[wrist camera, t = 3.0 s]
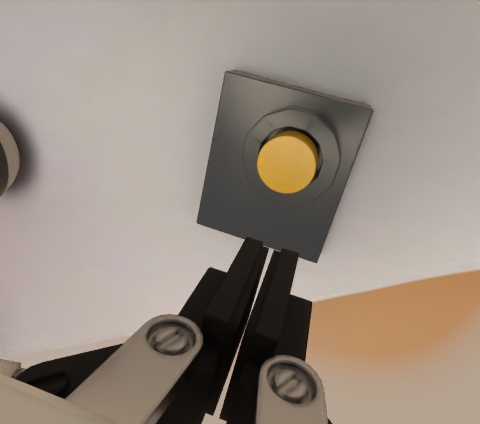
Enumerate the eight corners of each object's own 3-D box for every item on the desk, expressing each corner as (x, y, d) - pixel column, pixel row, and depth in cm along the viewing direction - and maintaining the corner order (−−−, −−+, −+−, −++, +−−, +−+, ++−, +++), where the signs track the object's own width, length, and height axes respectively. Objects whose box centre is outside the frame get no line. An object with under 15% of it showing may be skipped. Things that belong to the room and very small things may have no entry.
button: (270, 123, 26) (264, 128, 25) (325, 139, 26) (323, 145, 24) (257, 175, 28) (251, 184, 26) (308, 191, 27) (305, 200, 26)
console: (234, 69, 30) (216, 71, 26) (371, 105, 28) (375, 113, 24) (205, 212, 35) (187, 232, 31) (319, 250, 34) (314, 276, 30)
